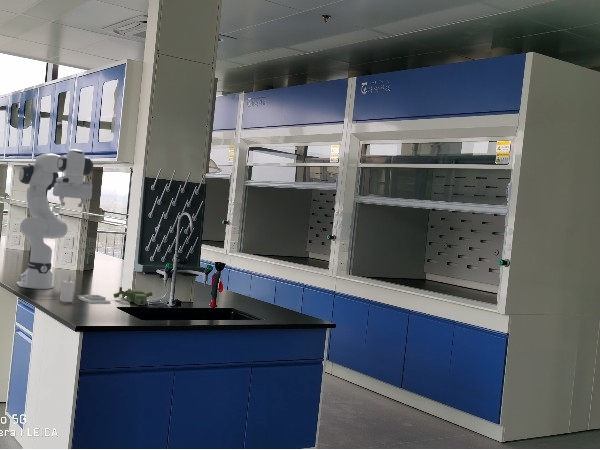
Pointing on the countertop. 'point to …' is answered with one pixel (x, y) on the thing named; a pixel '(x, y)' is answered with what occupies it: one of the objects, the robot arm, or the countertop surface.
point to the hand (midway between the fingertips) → (71, 206)
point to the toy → (134, 295)
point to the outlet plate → (94, 299)
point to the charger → (67, 291)
